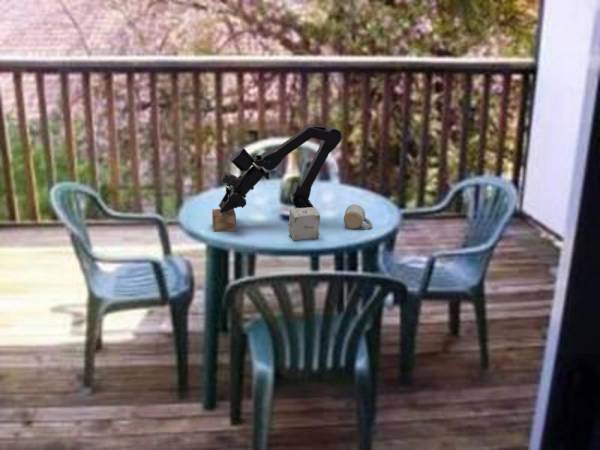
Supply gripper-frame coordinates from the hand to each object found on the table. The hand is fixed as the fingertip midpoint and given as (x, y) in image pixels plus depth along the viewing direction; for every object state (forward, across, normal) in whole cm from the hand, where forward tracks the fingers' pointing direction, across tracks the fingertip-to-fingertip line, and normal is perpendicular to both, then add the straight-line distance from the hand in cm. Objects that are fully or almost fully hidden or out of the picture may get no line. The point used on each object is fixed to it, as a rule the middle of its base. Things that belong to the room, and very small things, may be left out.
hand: (220, 209), depth 276 cm
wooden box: (+4, 0, +6) cm, 7 cm away
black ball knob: (+3, 0, +5) cm, 6 cm away
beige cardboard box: (-15, +14, +26) cm, 33 cm away
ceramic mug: (-31, +5, +41) cm, 52 cm away
